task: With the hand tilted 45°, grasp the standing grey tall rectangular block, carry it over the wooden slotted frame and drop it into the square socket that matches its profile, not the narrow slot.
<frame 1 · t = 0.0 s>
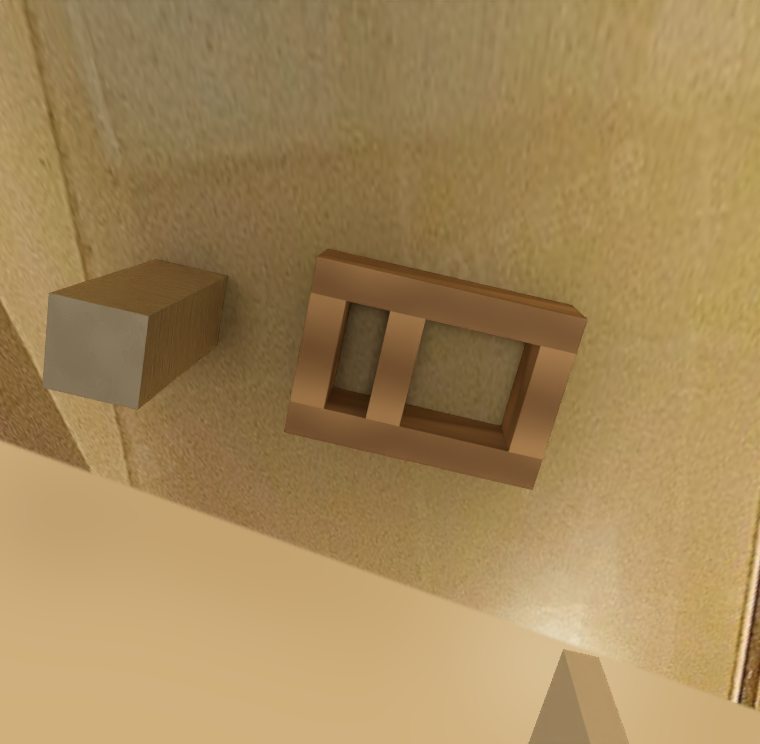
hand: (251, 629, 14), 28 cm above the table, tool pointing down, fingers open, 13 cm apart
wooden slotted frame: (429, 359, 41), on the table
grey tall rectangular block: (187, 302, 41), on the table
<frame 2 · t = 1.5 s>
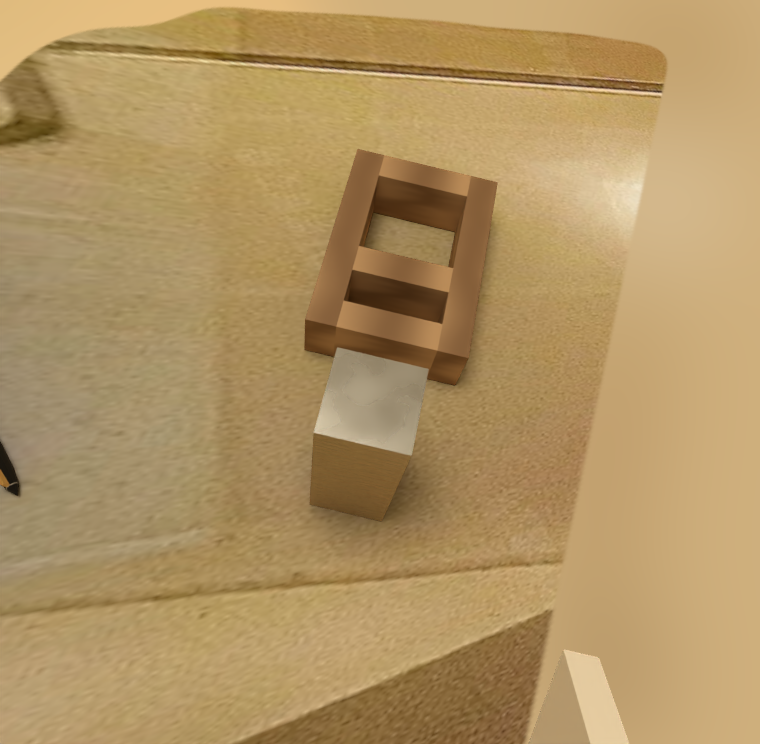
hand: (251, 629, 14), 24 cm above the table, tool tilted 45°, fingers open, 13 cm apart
wooden slotted frame: (400, 279, 48), on the table
grey tall rectangular block: (353, 478, 41), on the table
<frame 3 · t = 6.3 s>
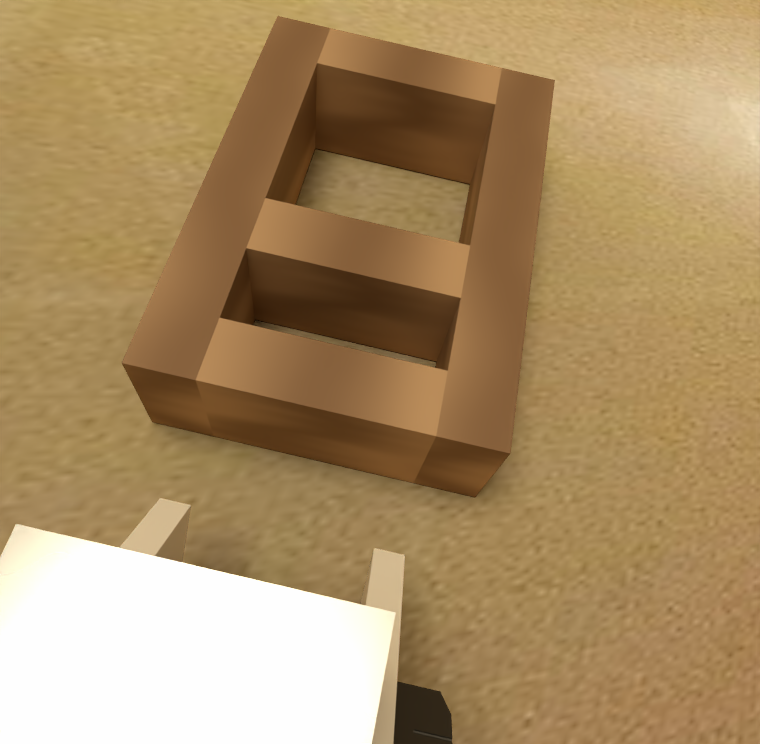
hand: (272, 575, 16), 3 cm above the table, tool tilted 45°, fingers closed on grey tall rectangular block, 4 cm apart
wooden slotted frame: (363, 272, 24), on the table
grey tall rectangular block: (237, 743, 17), on the table, touching gripper
when the fingers open (9 cm above the table, at t = 10.8 s): grey tall rectangular block drops 5 cm, resting in wooden slotted frame.
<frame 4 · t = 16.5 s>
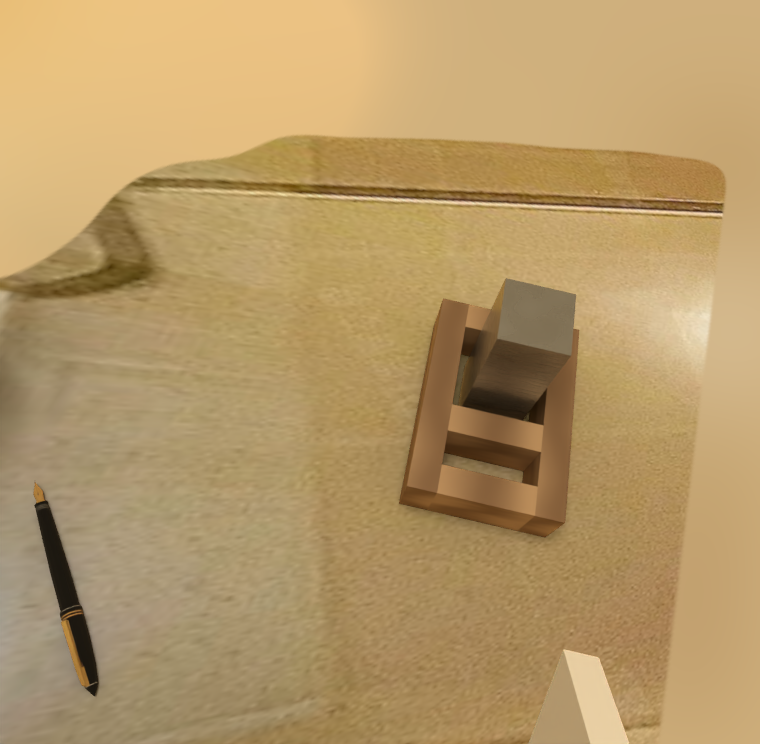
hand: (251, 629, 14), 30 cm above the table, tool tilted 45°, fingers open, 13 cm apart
wooden slotted frame: (485, 424, 50), on the table
grey tall rectangular block: (488, 398, 51), resting in wooden slotted frame
fountain pen: (67, 584, 42), on the table
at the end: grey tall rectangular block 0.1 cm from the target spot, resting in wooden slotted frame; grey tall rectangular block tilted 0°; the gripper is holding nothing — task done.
